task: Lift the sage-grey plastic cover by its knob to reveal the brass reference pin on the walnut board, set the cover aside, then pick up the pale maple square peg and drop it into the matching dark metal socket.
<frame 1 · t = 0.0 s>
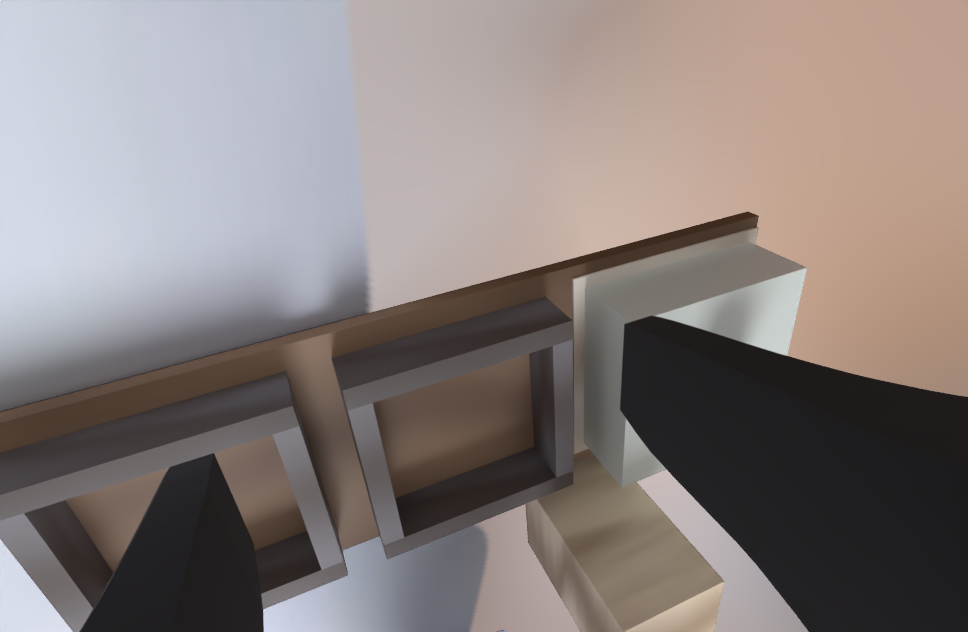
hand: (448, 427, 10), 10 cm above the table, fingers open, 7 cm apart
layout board: (456, 402, 23), on the table
maple peg: (566, 495, 28), on the table
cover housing: (662, 345, 25), point 1 cm above the table, touching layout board
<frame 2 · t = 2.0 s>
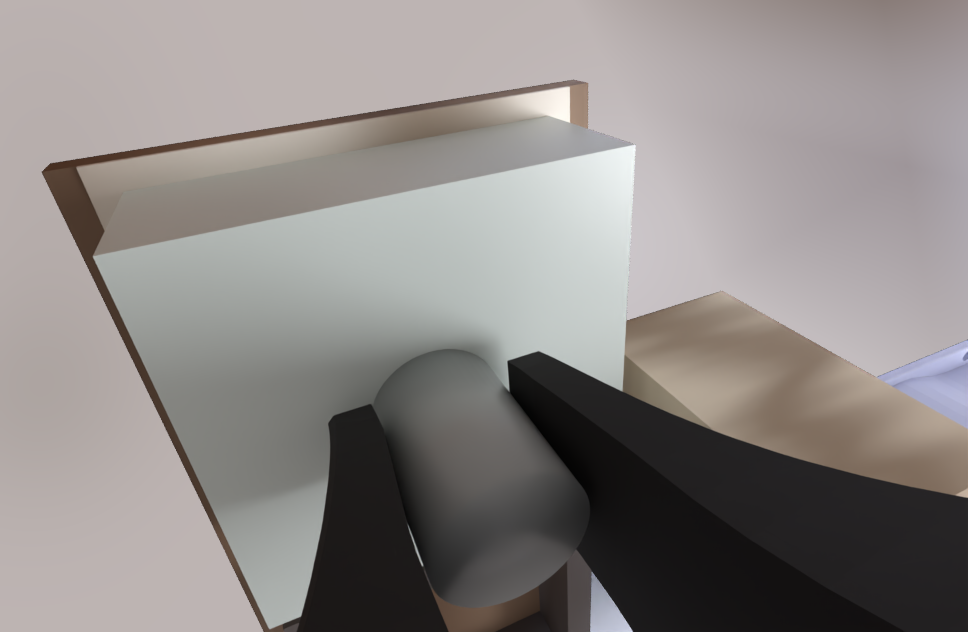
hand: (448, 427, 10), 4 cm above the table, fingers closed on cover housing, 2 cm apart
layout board: (436, 572, 18), on the table
maple peg: (656, 371, 18), on the table
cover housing: (394, 330, 13), point 1 cm above the table, touching gripper, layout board
when the fingers open (5 cm above the table, at t = 5.7 s): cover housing drops 2 cm, on the table.
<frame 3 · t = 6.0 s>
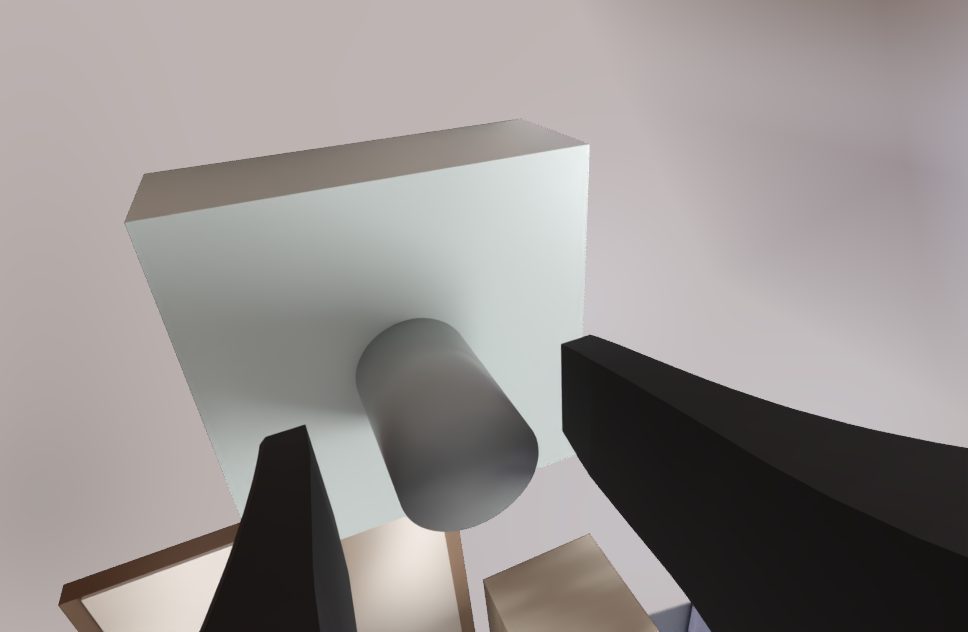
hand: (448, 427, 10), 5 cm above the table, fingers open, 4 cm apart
maple peg: (539, 592, 23), on the table
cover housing: (379, 307, 14), on the table
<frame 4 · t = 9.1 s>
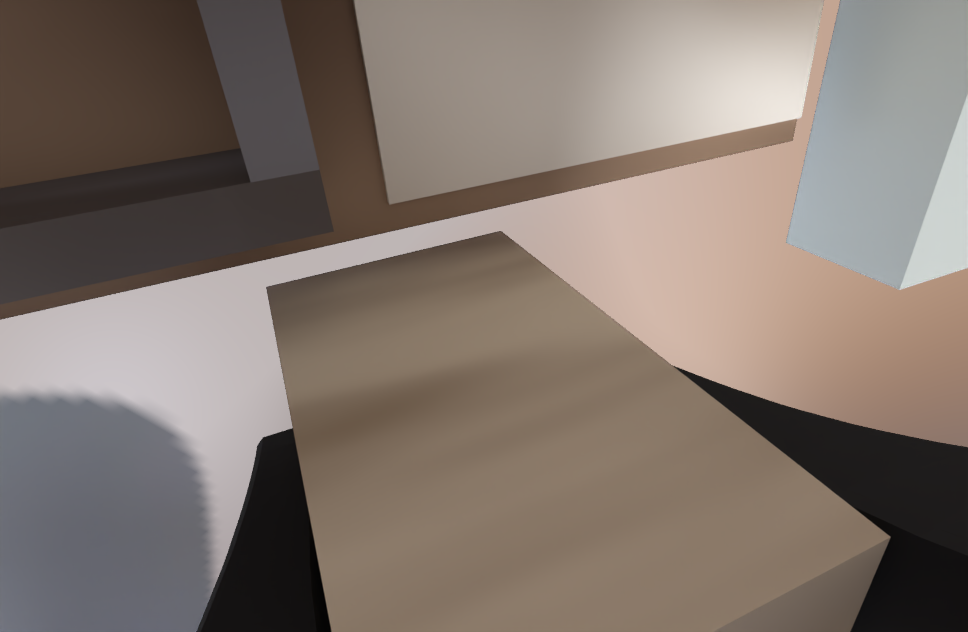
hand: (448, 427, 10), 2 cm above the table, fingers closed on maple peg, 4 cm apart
maple peg: (408, 356, 12), on the table, touching gripper
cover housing: (943, 58, 14), on the table
when the fingers open (4 cm above the table, at t = 14.4 s): maple peg stays where it is, resting on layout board.
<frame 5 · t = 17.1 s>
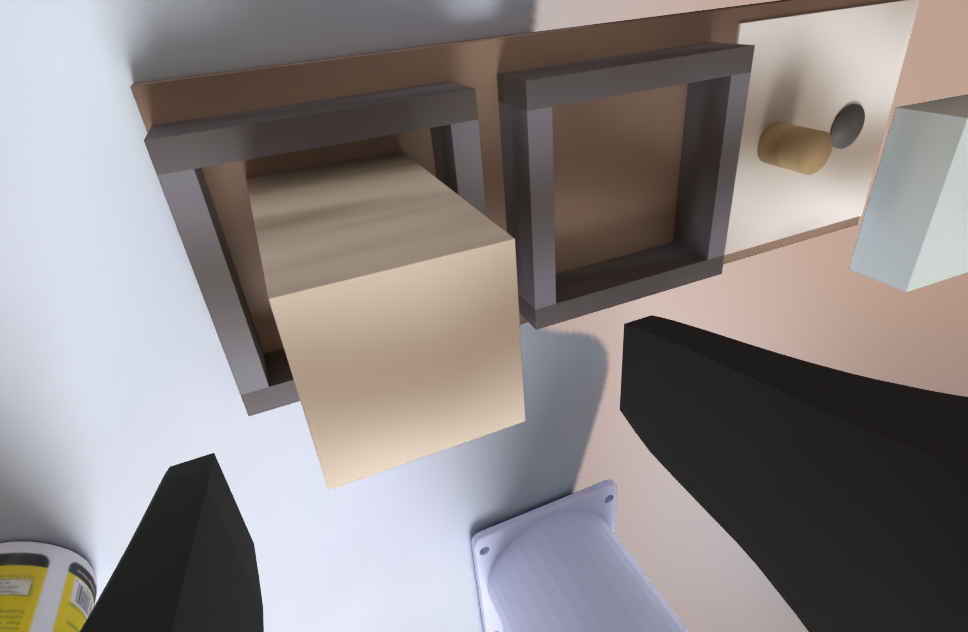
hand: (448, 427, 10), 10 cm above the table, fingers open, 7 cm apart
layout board: (602, 173, 21), on the table
maple peg: (342, 236, 18), point 1 cm above the table, touching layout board
supplement bottle: (18, 584, 20), on the table
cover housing: (926, 180, 29), on the table
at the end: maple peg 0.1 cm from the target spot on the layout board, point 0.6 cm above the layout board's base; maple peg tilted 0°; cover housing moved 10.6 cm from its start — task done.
